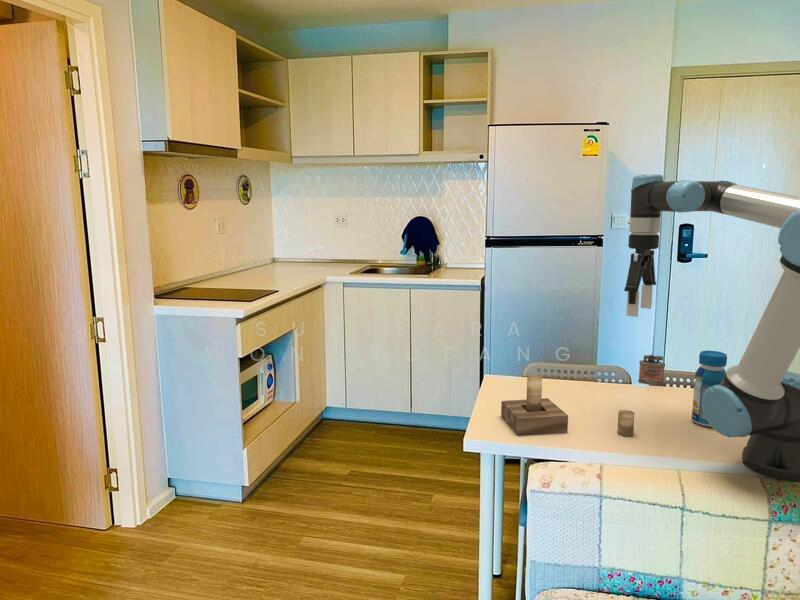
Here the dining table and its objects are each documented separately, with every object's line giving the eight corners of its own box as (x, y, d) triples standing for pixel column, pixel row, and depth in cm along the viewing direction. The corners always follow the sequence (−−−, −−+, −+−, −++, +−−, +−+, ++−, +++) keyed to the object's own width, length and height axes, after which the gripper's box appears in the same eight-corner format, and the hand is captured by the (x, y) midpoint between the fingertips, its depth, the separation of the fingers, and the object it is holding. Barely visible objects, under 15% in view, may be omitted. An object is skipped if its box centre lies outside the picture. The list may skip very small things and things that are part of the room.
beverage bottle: (711, 430, 160) (717, 358, 157) (684, 419, 168) (689, 351, 164) (731, 424, 164) (737, 354, 161) (703, 414, 172) (709, 348, 168)
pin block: (567, 433, 159) (568, 415, 158) (517, 436, 157) (518, 418, 156) (547, 414, 173) (547, 398, 172) (501, 417, 171) (501, 400, 170)
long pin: (542, 427, 163) (544, 378, 161) (528, 428, 162) (530, 379, 160) (537, 422, 167) (538, 374, 165) (523, 422, 166) (525, 375, 164)
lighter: (637, 383, 201) (639, 354, 199) (638, 380, 204) (640, 352, 202) (663, 386, 197) (665, 357, 196) (664, 383, 200) (666, 355, 199)
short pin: (636, 436, 157) (637, 414, 156) (622, 437, 156) (623, 415, 155) (628, 430, 160) (629, 409, 159) (614, 431, 160) (615, 410, 159)
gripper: (642, 231, 169) (637, 303, 173) (615, 235, 149) (610, 317, 153) (670, 231, 165) (664, 306, 168) (646, 236, 145) (641, 321, 148)
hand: (639, 312), depth 160 cm, fingers open, 13 cm apart
